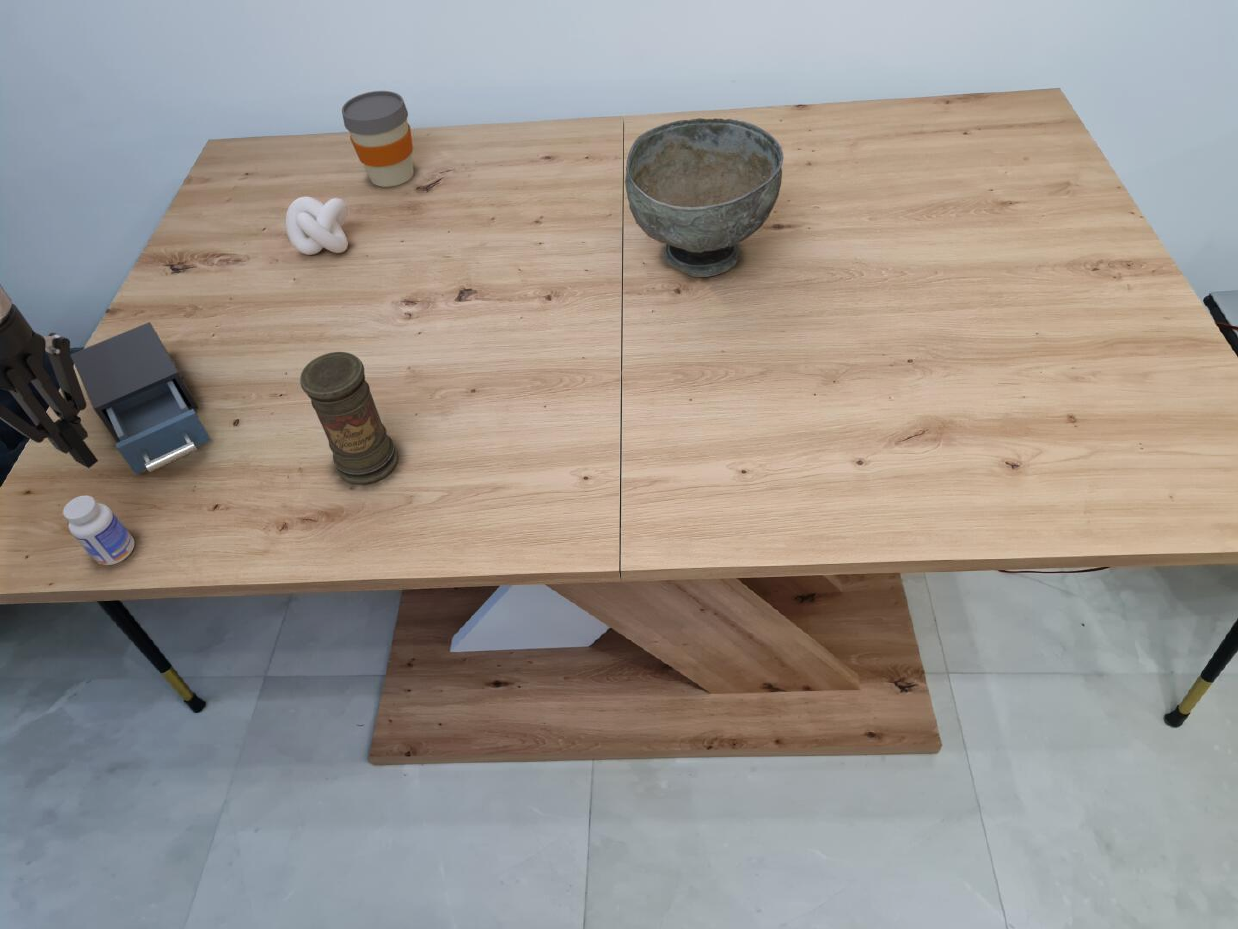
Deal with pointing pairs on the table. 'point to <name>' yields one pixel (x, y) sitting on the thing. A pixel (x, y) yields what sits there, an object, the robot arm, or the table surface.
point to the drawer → (156, 428)
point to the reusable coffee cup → (381, 136)
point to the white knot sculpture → (317, 225)
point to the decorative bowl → (703, 189)
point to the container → (349, 417)
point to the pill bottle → (98, 530)
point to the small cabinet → (126, 370)
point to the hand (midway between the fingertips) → (87, 460)
